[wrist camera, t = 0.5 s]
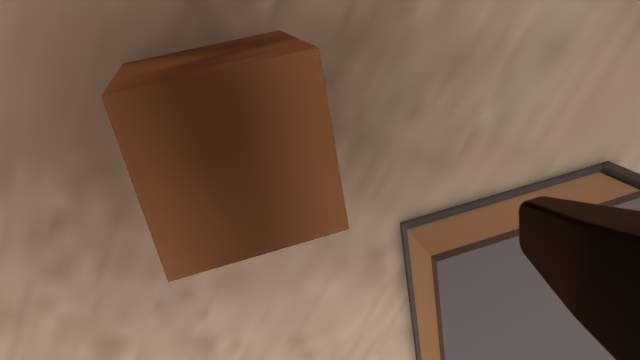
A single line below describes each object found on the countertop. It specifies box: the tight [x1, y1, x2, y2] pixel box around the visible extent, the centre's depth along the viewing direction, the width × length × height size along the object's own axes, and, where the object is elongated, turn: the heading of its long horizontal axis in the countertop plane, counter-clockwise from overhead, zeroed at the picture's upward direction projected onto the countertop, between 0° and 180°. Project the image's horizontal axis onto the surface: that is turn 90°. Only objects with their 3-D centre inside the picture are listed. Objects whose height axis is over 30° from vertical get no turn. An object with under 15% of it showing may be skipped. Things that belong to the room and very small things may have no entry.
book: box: [400, 161, 640, 360], centre depth 27 cm, size 12×16×4 cm
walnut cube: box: [102, 31, 349, 282], centre depth 17 cm, size 6×6×6 cm
